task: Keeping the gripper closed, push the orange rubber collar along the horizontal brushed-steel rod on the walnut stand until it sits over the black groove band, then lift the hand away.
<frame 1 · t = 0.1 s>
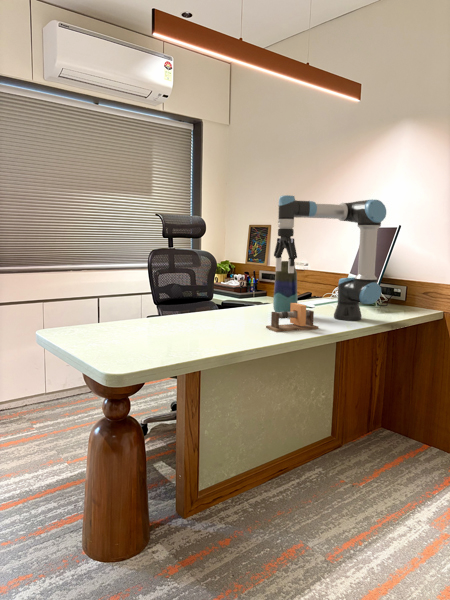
hand: (284, 272, 226), 28 cm above the table, fingers open, 13 cm apart
collar: (297, 314, 229), point 7 cm above the table, slide at 0.0 cm
vase: (284, 315, 268), on the table
pipe rig: (292, 328, 229), on the table
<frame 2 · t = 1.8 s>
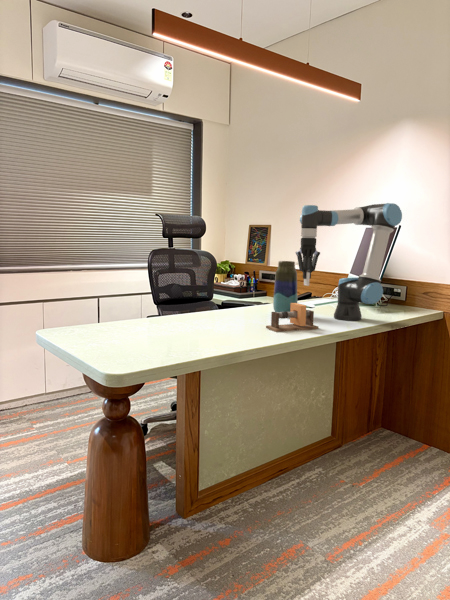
hand: (306, 285, 229), 21 cm above the table, fingers closed
nothing on the table moved.
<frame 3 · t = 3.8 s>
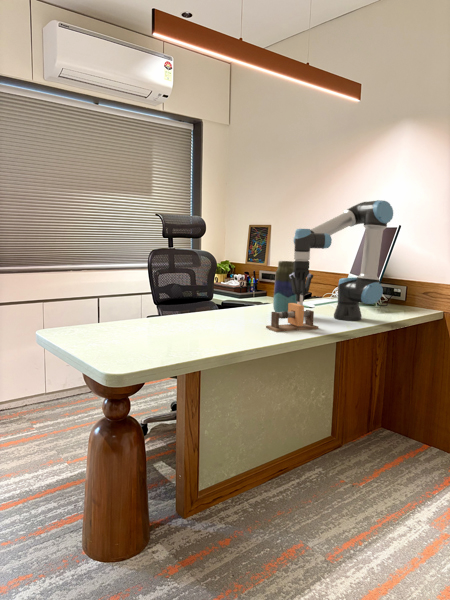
hand: (299, 308, 229), 10 cm above the table, fingers closed
collar: (295, 314, 228), point 7 cm above the table, slide at 1.3 cm, touching gripper
everything else where it was.
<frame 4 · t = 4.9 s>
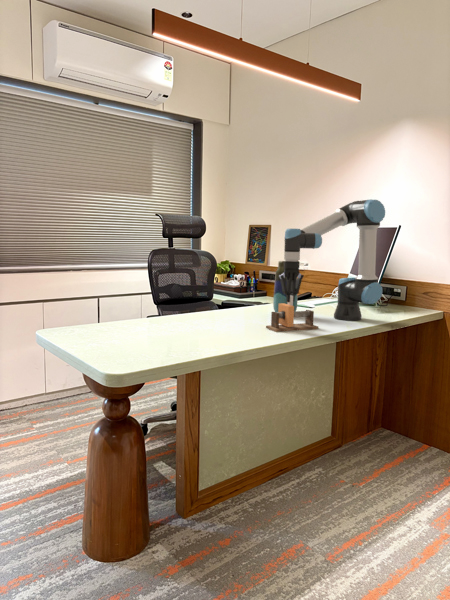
hand: (290, 308, 227), 10 cm above the table, fingers closed
collar: (285, 314, 226), point 7 cm above the table, slide at 6.8 cm, touching gripper
everything else where it was.
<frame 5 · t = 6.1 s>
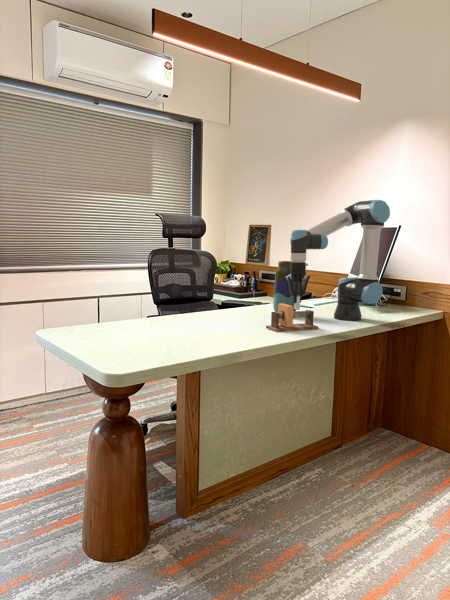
hand: (296, 309, 228), 10 cm above the table, fingers closed
collar: (285, 314, 226), point 7 cm above the table, slide at 7.2 cm
everything else where it was.
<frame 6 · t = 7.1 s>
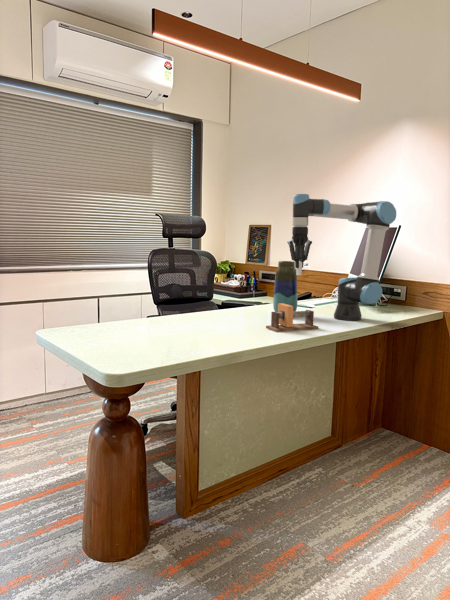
hand: (298, 274, 227), 27 cm above the table, fingers closed
nothing on the table moved.
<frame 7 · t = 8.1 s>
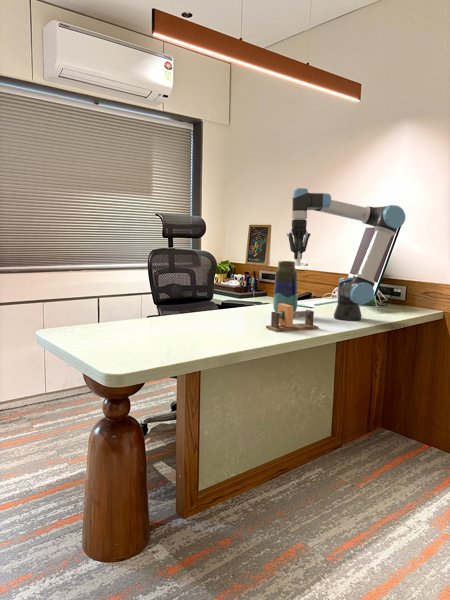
hand: (297, 265, 239), 30 cm above the table, fingers closed
nothing on the table moved.
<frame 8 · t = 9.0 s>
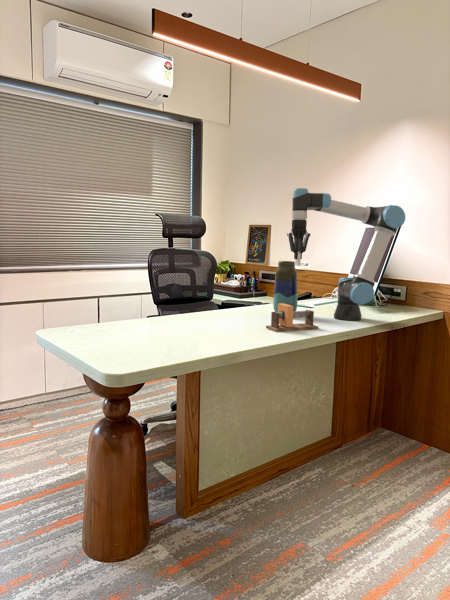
hand: (297, 265, 239), 30 cm above the table, fingers closed
nothing on the table moved.
at the end: collar slide at 7.2 cm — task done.
